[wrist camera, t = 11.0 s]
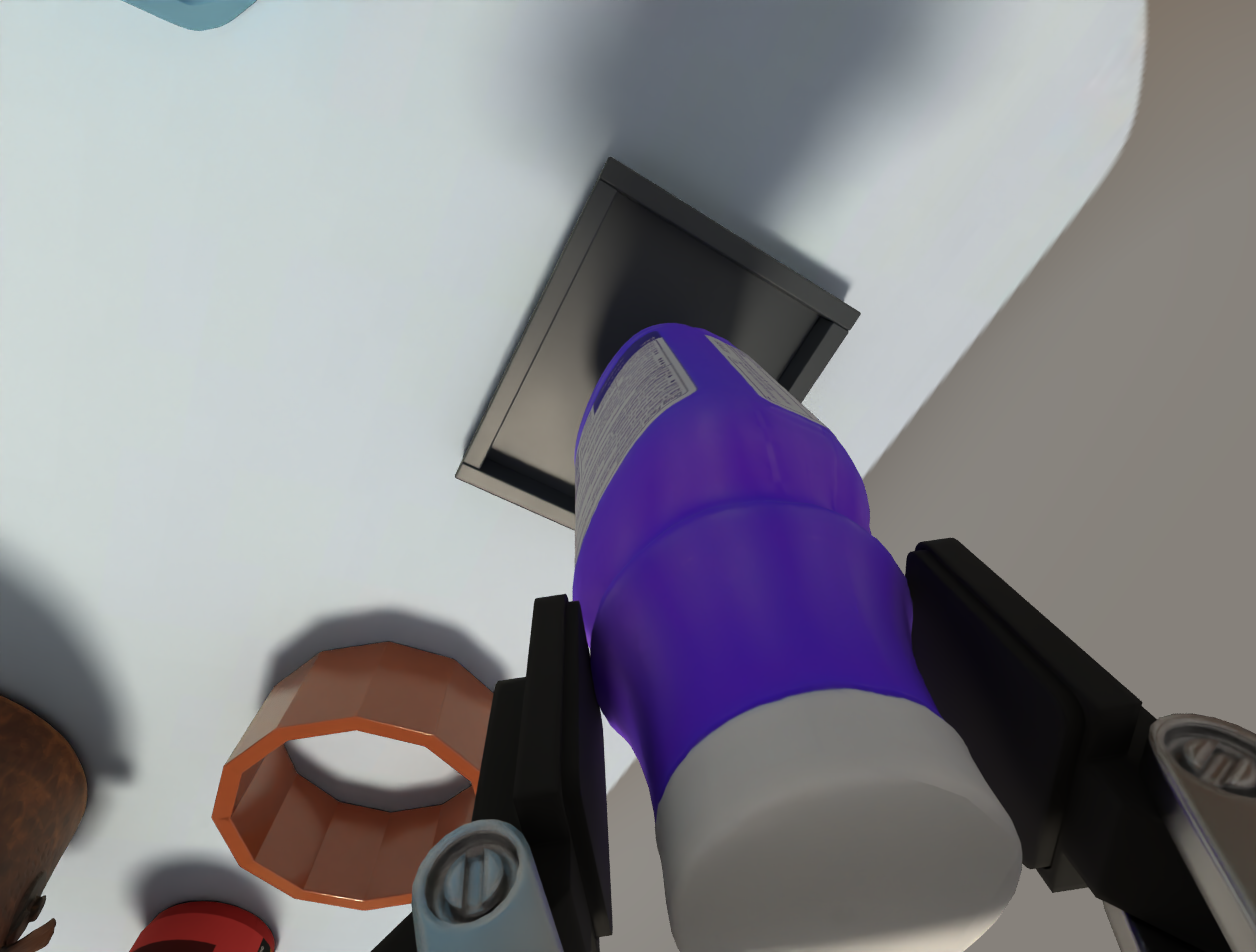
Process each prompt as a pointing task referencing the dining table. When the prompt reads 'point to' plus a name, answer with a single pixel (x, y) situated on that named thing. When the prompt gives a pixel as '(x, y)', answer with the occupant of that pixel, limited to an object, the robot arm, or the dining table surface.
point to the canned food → (205, 930)
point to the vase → (194, 11)
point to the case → (33, 819)
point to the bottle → (770, 670)
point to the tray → (637, 329)
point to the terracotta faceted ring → (315, 821)
